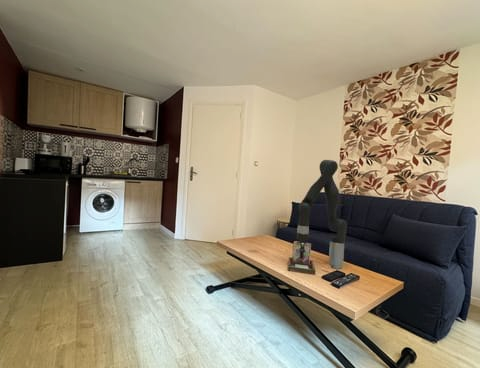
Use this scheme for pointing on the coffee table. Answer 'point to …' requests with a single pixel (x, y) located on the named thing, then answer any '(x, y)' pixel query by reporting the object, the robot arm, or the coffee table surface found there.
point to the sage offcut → (301, 266)
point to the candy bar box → (297, 253)
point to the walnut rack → (301, 270)
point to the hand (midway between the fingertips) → (301, 256)
